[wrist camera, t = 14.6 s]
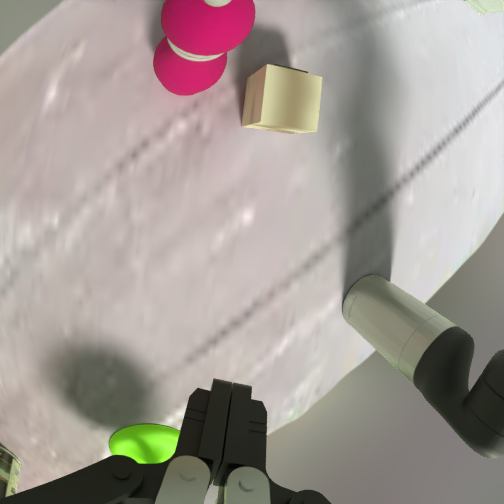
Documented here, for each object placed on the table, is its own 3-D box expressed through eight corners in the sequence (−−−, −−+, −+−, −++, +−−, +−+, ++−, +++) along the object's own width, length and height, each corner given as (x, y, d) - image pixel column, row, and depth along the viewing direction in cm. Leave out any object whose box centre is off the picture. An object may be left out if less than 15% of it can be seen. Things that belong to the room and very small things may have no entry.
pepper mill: (170, 34, 27) (189, -70, 9) (227, 55, 30) (303, -27, 12) (143, 88, 29) (126, 17, 11) (203, 108, 31) (258, 63, 13)
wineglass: (91, 440, 41) (89, 525, 25) (159, 412, 43) (174, 508, 26) (146, 477, 48) (157, 549, 31) (210, 453, 49) (234, 530, 33)
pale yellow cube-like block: (294, 83, 33) (322, 72, 27) (289, 133, 35) (316, 131, 29) (247, 74, 31) (267, 59, 25) (241, 126, 33) (260, 122, 27)
